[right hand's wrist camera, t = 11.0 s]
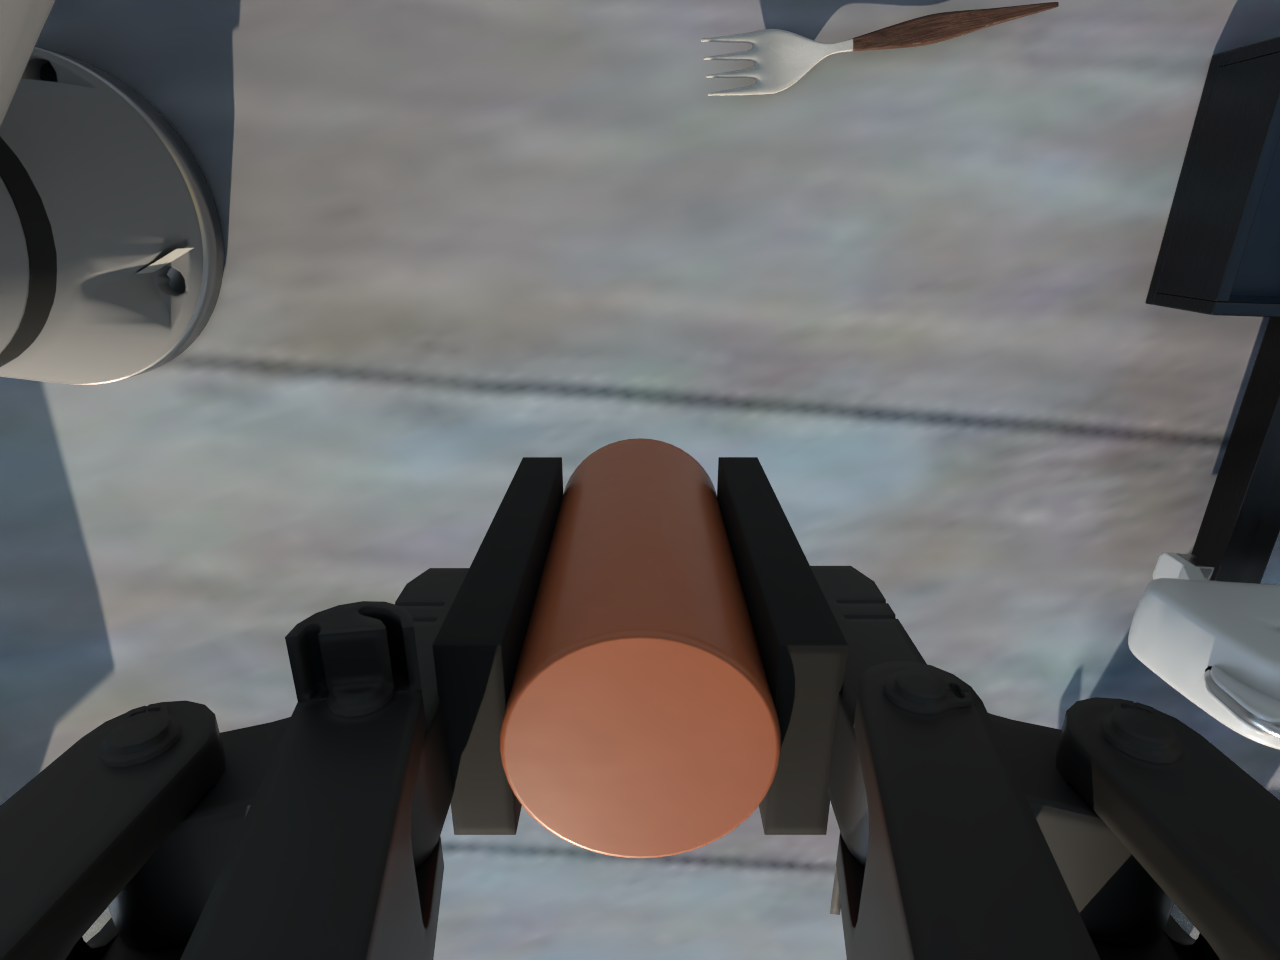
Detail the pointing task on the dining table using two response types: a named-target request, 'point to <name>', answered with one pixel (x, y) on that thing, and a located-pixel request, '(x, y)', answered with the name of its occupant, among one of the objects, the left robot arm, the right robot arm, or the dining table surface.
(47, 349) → the right robot arm
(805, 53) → the fork
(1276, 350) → the pan
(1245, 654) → the left robot arm
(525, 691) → the peg
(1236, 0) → the dining table surface
